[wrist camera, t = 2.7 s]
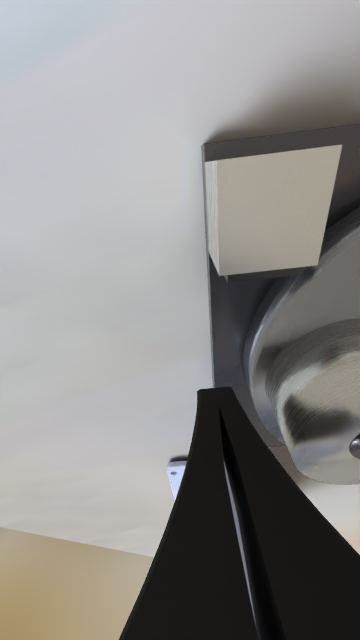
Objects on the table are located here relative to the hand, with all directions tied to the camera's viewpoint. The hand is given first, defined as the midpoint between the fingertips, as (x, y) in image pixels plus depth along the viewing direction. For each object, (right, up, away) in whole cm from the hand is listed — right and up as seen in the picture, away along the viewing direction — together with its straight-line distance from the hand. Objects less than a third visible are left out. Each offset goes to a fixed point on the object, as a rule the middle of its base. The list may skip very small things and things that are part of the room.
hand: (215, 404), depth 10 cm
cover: (+5, +1, +1) cm, 5 cm away
